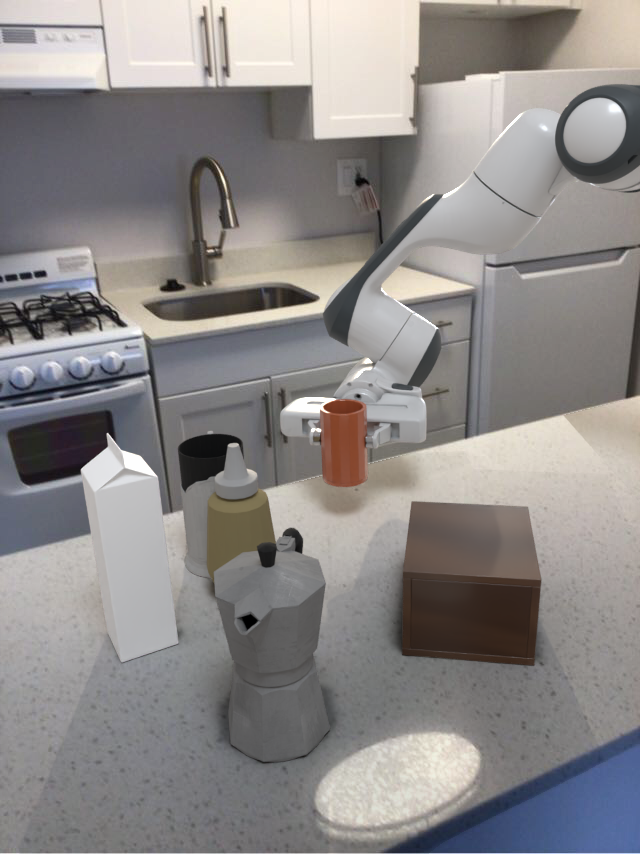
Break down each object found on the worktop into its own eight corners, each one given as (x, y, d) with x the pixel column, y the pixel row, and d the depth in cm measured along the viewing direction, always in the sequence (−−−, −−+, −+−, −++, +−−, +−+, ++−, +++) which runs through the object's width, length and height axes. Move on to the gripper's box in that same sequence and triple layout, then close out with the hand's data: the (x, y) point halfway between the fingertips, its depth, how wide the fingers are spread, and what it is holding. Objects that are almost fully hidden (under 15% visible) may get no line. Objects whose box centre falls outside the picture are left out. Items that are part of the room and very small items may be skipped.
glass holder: (184, 581, 88) (170, 464, 83) (185, 524, 101) (174, 419, 96) (259, 573, 89) (250, 456, 84) (251, 517, 102) (243, 413, 97)
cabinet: (410, 574, 88) (411, 500, 84) (522, 581, 86) (528, 506, 82) (402, 655, 74) (402, 571, 71) (534, 665, 72) (541, 579, 69)
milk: (121, 664, 75) (87, 460, 67) (106, 631, 80) (73, 438, 72) (180, 643, 77) (154, 445, 69) (162, 613, 82) (136, 425, 74)
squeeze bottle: (264, 617, 81) (253, 464, 74) (196, 605, 84) (180, 456, 77) (291, 577, 88) (283, 434, 82) (228, 567, 91) (215, 428, 84)
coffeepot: (313, 792, 59) (304, 597, 53) (200, 774, 61) (178, 584, 55) (350, 665, 73) (346, 499, 67) (257, 654, 75) (244, 491, 69)
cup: (366, 467, 103) (365, 398, 100) (369, 486, 98) (367, 413, 94) (322, 468, 103) (319, 399, 100) (322, 488, 98) (319, 415, 94)
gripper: (292, 382, 111) (264, 415, 99) (432, 387, 107) (421, 422, 94) (295, 422, 114) (267, 459, 101) (431, 429, 109) (420, 468, 96)
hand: (342, 441), depth 98 cm, fingers closed on cup, 6 cm apart
